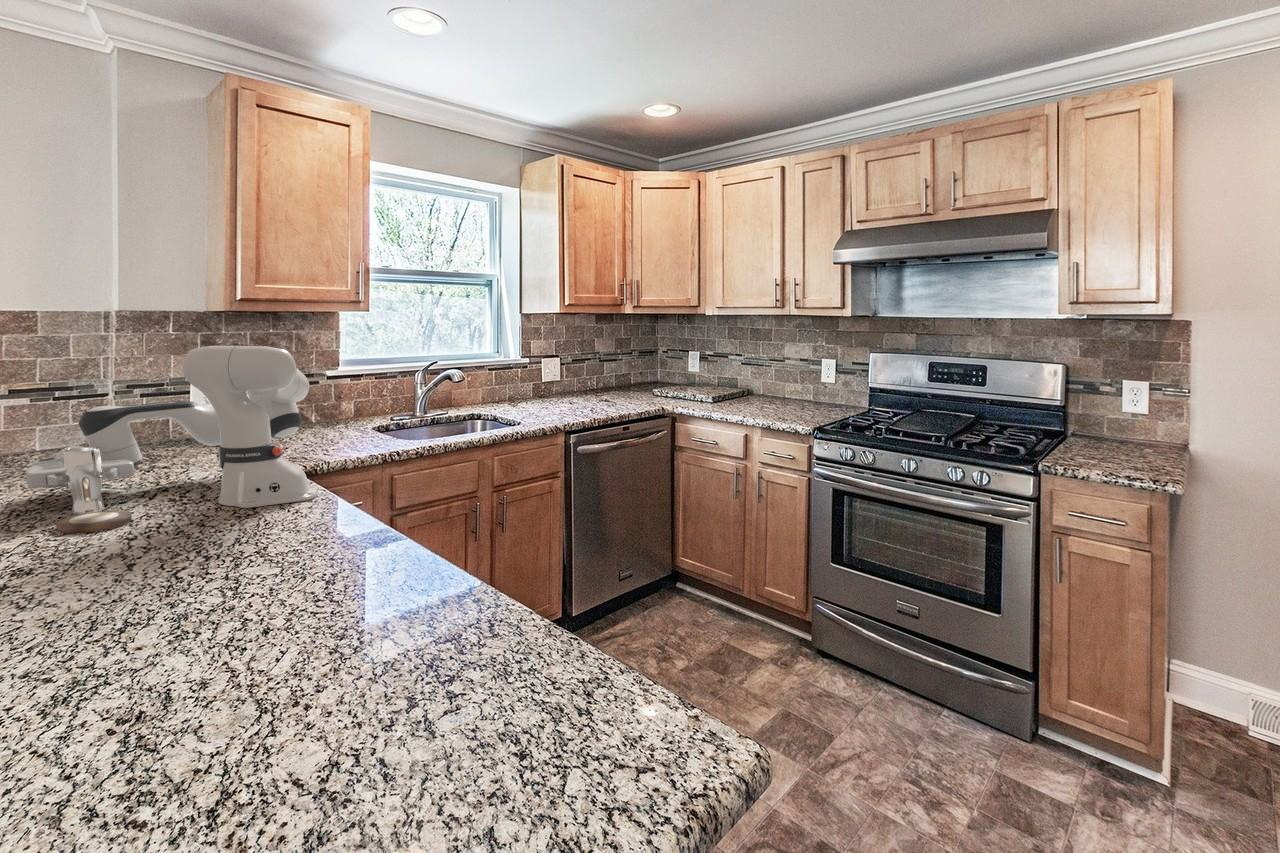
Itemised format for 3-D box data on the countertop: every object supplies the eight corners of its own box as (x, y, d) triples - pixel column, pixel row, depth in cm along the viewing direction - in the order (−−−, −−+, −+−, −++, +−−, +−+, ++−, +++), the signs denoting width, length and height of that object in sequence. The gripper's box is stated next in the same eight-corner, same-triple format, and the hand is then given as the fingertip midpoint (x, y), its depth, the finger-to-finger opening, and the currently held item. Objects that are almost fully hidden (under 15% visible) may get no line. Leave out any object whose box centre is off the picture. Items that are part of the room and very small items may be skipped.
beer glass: (86, 516, 156) (78, 452, 154) (61, 514, 157) (53, 451, 155) (114, 508, 163) (107, 447, 161) (91, 506, 164) (84, 445, 162)
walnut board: (138, 514, 158) (137, 507, 158) (122, 529, 146) (121, 522, 146) (69, 520, 153) (68, 512, 153) (46, 536, 141) (45, 528, 141)
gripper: (132, 475, 176) (140, 484, 166) (26, 488, 162) (29, 499, 152) (129, 451, 175) (138, 459, 165) (23, 462, 161) (25, 471, 151)
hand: (85, 478), depth 158 cm, fingers open, 8 cm apart
